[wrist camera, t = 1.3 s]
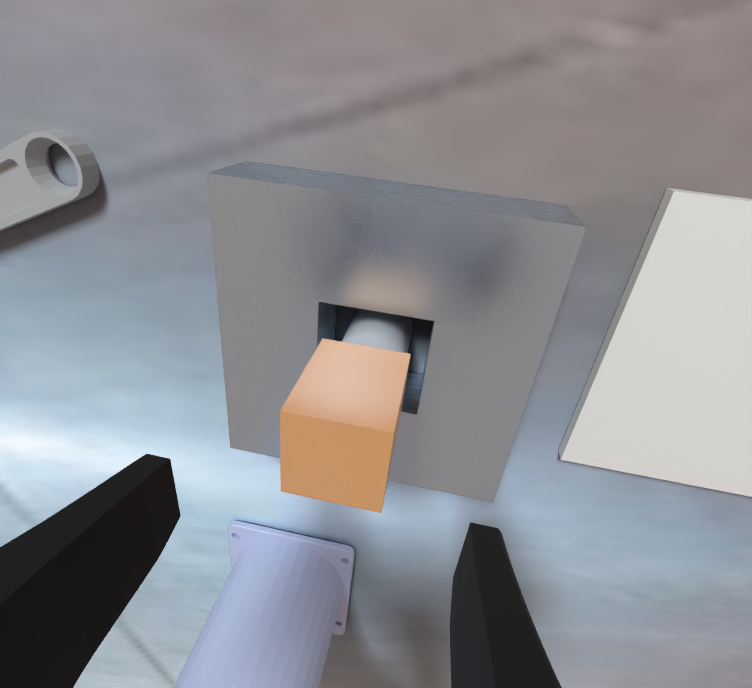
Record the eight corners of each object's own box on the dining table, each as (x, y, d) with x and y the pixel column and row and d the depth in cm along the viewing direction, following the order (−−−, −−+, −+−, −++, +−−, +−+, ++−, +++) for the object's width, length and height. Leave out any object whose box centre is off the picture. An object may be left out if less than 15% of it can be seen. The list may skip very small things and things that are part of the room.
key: (411, 360, 20) (381, 513, 13) (347, 349, 20) (280, 491, 13) (422, 300, 18) (393, 433, 11) (352, 288, 19) (280, 410, 11)
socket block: (489, 453, 22) (492, 501, 19) (256, 408, 23) (230, 447, 20) (566, 205, 16) (586, 226, 13) (245, 161, 17) (206, 173, 14)
